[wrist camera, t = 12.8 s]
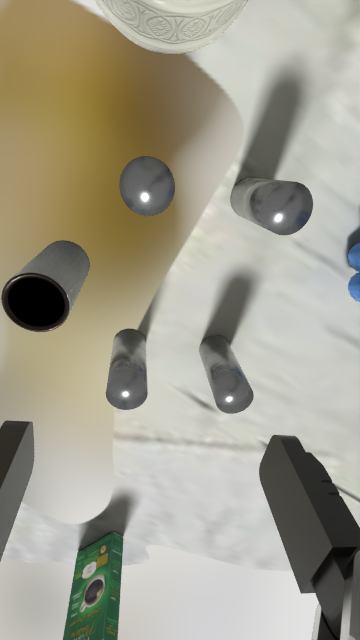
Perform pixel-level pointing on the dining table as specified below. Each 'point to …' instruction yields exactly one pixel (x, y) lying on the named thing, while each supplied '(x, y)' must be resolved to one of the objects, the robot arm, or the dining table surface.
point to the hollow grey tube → (46, 287)
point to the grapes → (359, 282)
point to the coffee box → (96, 591)
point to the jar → (171, 22)
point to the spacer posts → (217, 356)
